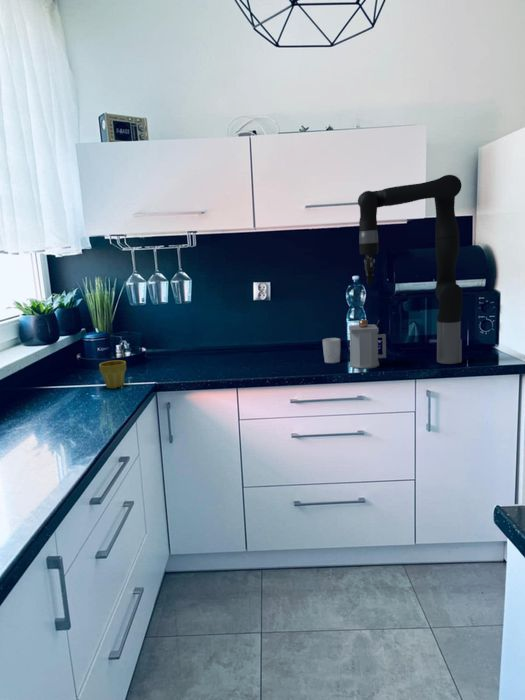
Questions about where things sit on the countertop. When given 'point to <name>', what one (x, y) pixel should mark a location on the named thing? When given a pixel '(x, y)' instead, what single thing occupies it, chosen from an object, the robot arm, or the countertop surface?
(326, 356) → the white cup
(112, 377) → the plant pot
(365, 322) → the plunger
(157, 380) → the countertop surface
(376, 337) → the press
